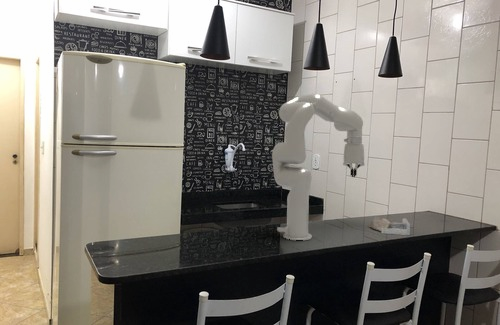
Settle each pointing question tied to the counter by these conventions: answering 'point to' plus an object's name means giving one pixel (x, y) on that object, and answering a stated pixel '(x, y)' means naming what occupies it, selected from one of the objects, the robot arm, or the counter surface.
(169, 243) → the counter surface
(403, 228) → the dock
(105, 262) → the counter surface
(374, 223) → the concrete fragment
